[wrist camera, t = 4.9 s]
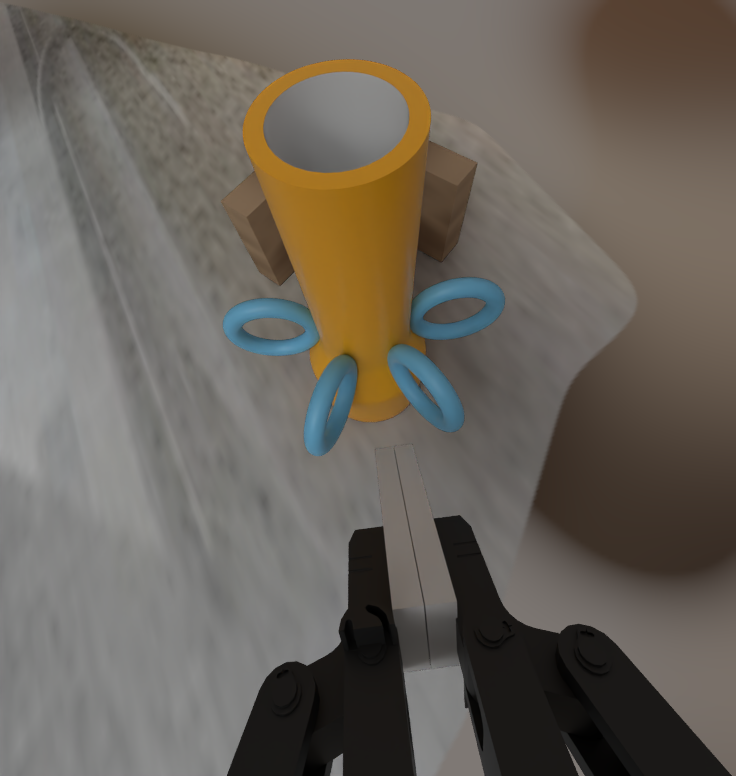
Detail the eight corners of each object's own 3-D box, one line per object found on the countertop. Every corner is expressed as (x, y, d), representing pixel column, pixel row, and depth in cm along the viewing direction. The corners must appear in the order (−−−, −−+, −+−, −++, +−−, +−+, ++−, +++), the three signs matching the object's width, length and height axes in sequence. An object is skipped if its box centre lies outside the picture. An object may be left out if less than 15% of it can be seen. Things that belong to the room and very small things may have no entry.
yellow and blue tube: (504, 398, 20) (760, 149, 6) (366, 514, 19) (294, 523, 5) (376, 268, 24) (357, -72, 10) (250, 355, 22) (14, 92, 8)
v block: (461, 259, 24) (483, 181, 18) (259, 288, 24) (220, 221, 18) (437, 170, 27) (450, 79, 21) (257, 196, 27) (222, 114, 21)
